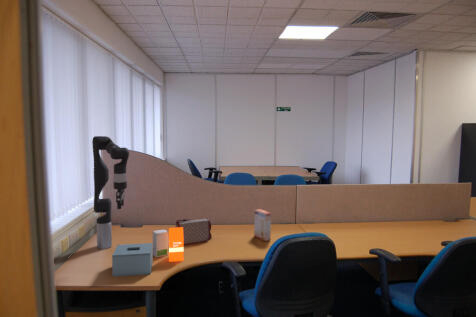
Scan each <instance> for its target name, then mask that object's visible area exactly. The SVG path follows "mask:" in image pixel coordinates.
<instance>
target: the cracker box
mask: <svg viewBox="0 0 476 317" xmlns="http://www.w3.org/2000/svg"><path fill="white" fill-rule="evenodd" d="M253 226H254V230H253V231H254V234H253V236H254V237H255V236H256V237H255V238H257V239H260V240H261V241H263V242H268V241H271V234H272V233H271V232H272V231H271V230H272V229H271V228H272V227H271V226H272V213H271V212H269V211H267V210H264V209H261V208H257V209H255V210H254V225H253Z"/></svg>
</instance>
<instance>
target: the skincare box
mask: <svg viewBox="0 0 476 317" xmlns="http://www.w3.org/2000/svg"><path fill="white" fill-rule="evenodd" d="M152 243H153V257H155V258H160V257H165V256H169V230H168V231H167V230H166V229H158V230H153V231H152Z"/></svg>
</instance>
